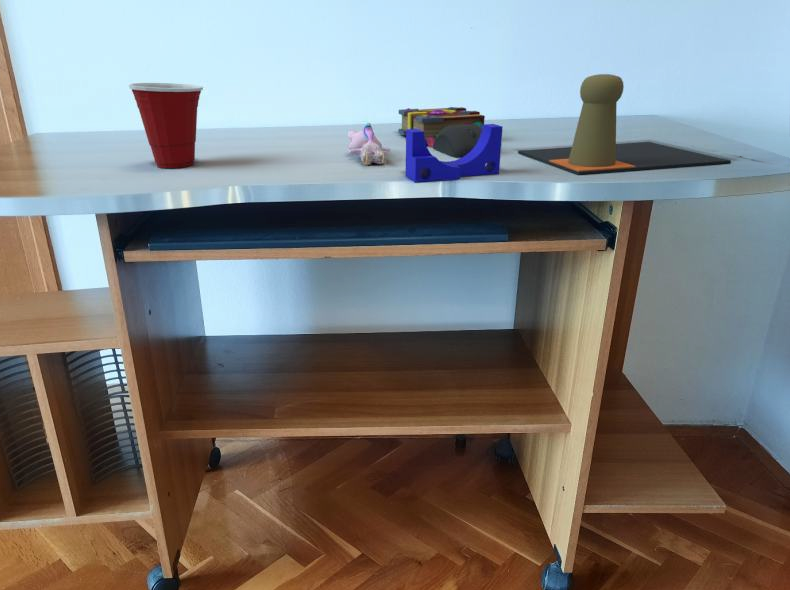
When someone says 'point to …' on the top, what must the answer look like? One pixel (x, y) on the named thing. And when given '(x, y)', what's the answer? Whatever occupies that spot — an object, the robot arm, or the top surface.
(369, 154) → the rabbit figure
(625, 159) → the desk mat
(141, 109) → the plastic cup
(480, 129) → the computer mouse
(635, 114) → the top surface
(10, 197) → the top surface
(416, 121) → the decorative book
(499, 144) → the blue cradle bracket
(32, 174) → the top surface
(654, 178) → the top surface
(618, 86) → the cork
